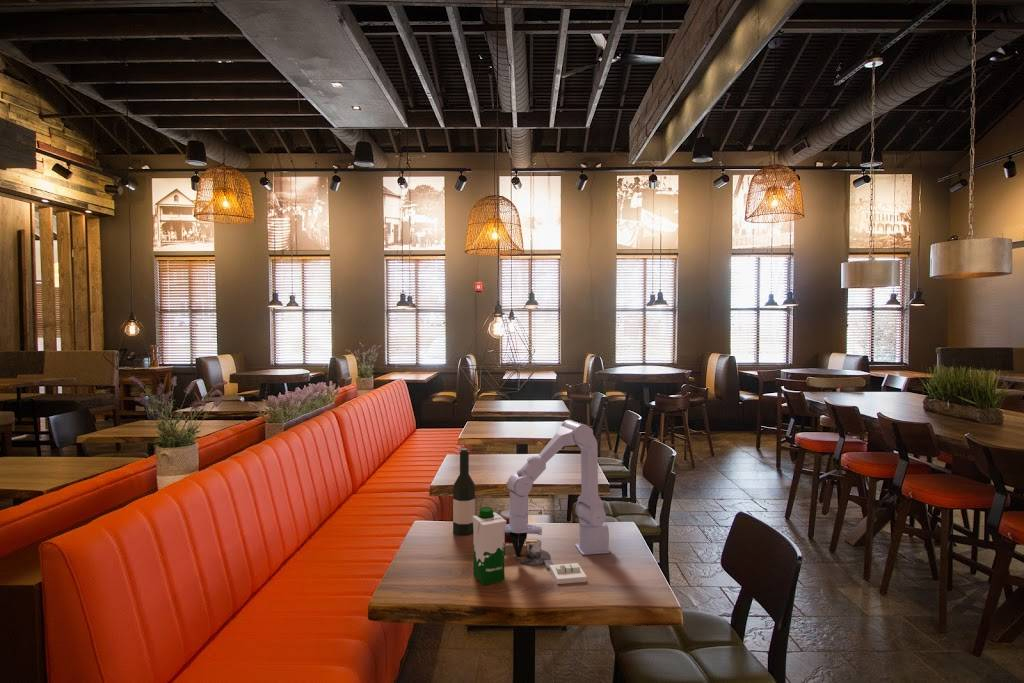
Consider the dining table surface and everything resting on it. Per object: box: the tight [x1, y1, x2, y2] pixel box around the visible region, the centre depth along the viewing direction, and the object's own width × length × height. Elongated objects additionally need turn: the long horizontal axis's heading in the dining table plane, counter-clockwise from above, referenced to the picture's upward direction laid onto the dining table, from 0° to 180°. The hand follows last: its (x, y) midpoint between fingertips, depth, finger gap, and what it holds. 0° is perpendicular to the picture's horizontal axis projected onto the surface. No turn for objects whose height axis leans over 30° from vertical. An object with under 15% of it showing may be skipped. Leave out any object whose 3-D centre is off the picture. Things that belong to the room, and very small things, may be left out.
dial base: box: [515, 549, 554, 571], centre depth 175 cm, size 11×14×1 cm
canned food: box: [500, 508, 519, 543], centre depth 186 cm, size 8×8×11 cm
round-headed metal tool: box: [504, 538, 542, 559], centre depth 176 cm, size 14×5×5 cm, turn 94°
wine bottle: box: [452, 447, 476, 537], centre depth 197 cm, size 8×8×30 cm
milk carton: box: [472, 506, 506, 586], centre depth 162 cm, size 9×9×20 cm
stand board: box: [548, 562, 588, 585], centre depth 164 cm, size 9×9×4 cm
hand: (518, 555), depth 171 cm, fingers closed
